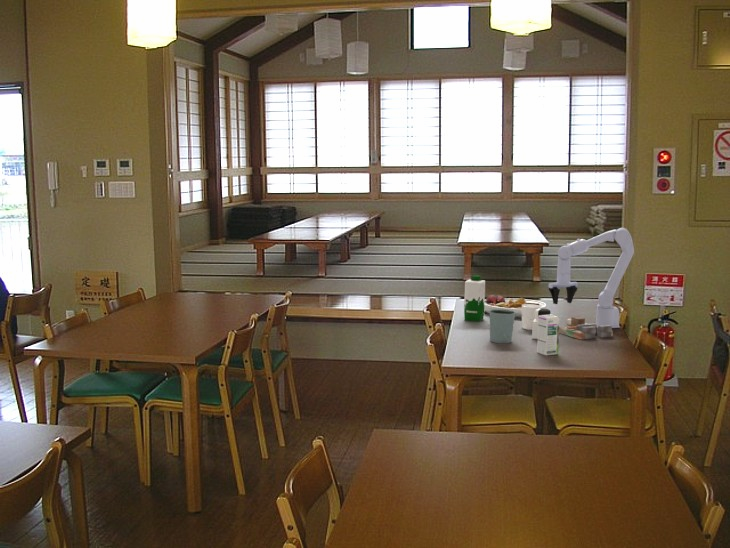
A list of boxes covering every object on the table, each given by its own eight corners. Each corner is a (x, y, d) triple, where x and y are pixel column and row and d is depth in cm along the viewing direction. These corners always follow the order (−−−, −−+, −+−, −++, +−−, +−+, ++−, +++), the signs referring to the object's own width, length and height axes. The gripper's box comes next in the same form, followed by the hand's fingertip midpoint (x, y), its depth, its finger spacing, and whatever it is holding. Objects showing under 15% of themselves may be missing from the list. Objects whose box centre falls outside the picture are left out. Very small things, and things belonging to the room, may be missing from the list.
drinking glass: (483, 339, 328) (484, 310, 326) (504, 337, 332) (506, 308, 330) (497, 344, 318) (498, 314, 317) (519, 342, 322) (520, 312, 321)
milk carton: (485, 319, 371) (487, 275, 368) (480, 322, 363) (482, 278, 360) (467, 317, 374) (468, 274, 372) (461, 320, 366) (463, 277, 363)
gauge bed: (569, 323, 362) (570, 313, 361) (613, 336, 336) (613, 325, 336) (538, 326, 355) (539, 316, 355) (580, 339, 329) (581, 328, 329)
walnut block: (578, 330, 348) (578, 316, 347) (584, 332, 344) (584, 318, 343) (570, 331, 346) (571, 317, 345) (576, 333, 342) (577, 319, 342)
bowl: (554, 312, 392) (555, 296, 391) (532, 321, 367) (533, 304, 366) (497, 305, 408) (497, 290, 407) (472, 314, 383) (472, 298, 382)
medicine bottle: (551, 336, 334) (552, 308, 332) (549, 340, 327) (550, 311, 326) (534, 335, 336) (535, 307, 335) (531, 338, 330) (533, 309, 328)
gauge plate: (594, 332, 343) (594, 323, 342) (604, 335, 337) (605, 326, 336) (566, 335, 337) (566, 325, 336) (576, 338, 331) (576, 328, 330)
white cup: (539, 330, 346) (540, 307, 345) (520, 329, 348) (521, 306, 347) (539, 327, 354) (540, 304, 353) (520, 326, 356) (521, 303, 354)
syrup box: (545, 355, 300) (547, 317, 298) (536, 352, 306) (538, 314, 304) (558, 354, 302) (560, 316, 301) (548, 351, 308) (550, 313, 306)
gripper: (571, 271, 365) (569, 301, 367) (544, 272, 359) (543, 302, 361) (581, 273, 358) (579, 303, 360) (554, 274, 353) (553, 305, 354)
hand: (562, 303), depth 360 cm, fingers open, 7 cm apart
